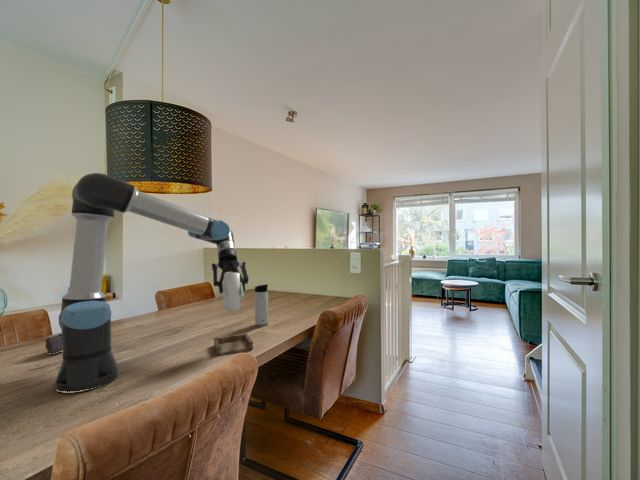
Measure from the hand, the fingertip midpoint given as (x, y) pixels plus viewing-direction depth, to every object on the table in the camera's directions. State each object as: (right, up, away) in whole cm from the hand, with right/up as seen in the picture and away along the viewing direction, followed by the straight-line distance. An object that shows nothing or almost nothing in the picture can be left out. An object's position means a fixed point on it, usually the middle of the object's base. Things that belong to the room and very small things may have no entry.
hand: (233, 298), depth 114 cm
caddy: (-1, -20, +3) cm, 20 cm away
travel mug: (+4, -20, +34) cm, 40 cm away
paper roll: (-1, -5, +3) cm, 6 cm away
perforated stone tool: (-67, -21, +3) cm, 71 cm away
